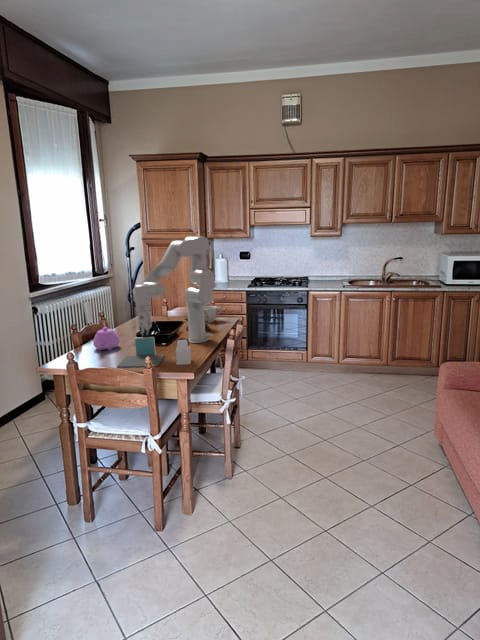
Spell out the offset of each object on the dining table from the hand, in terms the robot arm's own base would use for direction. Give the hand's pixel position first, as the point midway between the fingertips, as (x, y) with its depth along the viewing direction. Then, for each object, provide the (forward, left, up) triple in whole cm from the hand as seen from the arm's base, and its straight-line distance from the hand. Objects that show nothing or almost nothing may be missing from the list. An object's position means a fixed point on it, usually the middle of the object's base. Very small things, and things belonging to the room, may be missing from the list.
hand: (146, 341), depth 235 cm
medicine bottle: (-22, +16, -7) cm, 28 cm away
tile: (0, +3, -7) cm, 7 cm away
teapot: (+26, -12, -7) cm, 29 cm away
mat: (0, +13, -7) cm, 14 cm away
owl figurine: (-21, -50, -7) cm, 55 cm away
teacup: (-28, -72, -7) cm, 78 cm away
